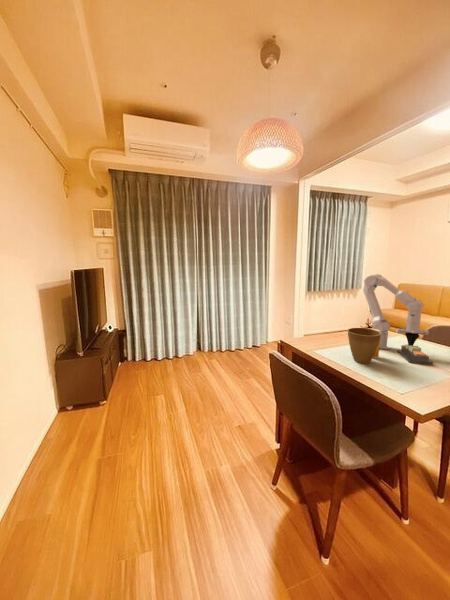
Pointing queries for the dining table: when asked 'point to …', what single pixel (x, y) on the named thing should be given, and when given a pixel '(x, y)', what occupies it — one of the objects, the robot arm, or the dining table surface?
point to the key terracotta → (419, 353)
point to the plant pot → (363, 343)
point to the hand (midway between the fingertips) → (410, 346)
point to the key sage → (414, 348)
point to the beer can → (377, 347)
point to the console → (413, 357)
